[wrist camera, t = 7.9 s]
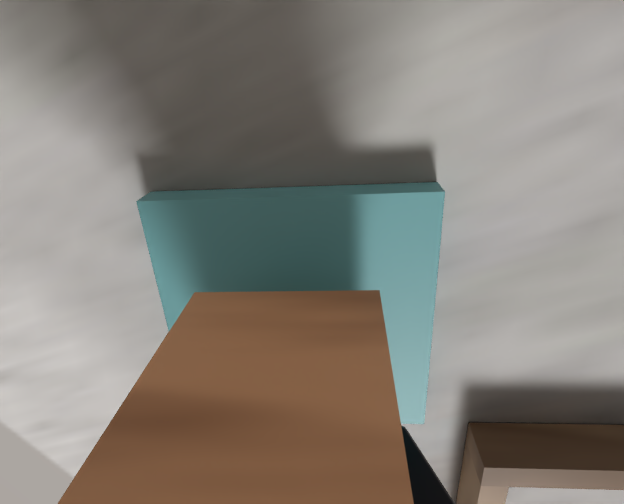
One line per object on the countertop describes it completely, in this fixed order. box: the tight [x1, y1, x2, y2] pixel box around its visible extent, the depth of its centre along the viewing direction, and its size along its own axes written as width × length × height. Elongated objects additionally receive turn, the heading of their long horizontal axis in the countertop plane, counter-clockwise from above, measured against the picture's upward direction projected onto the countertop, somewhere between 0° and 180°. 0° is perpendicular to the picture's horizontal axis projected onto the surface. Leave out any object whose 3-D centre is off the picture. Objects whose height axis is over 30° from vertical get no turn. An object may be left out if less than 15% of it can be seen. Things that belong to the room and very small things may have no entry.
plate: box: [136, 182, 445, 424], centre depth 14 cm, size 9×9×1 cm
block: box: [58, 290, 414, 504], centre depth 8 cm, size 5×5×8 cm
